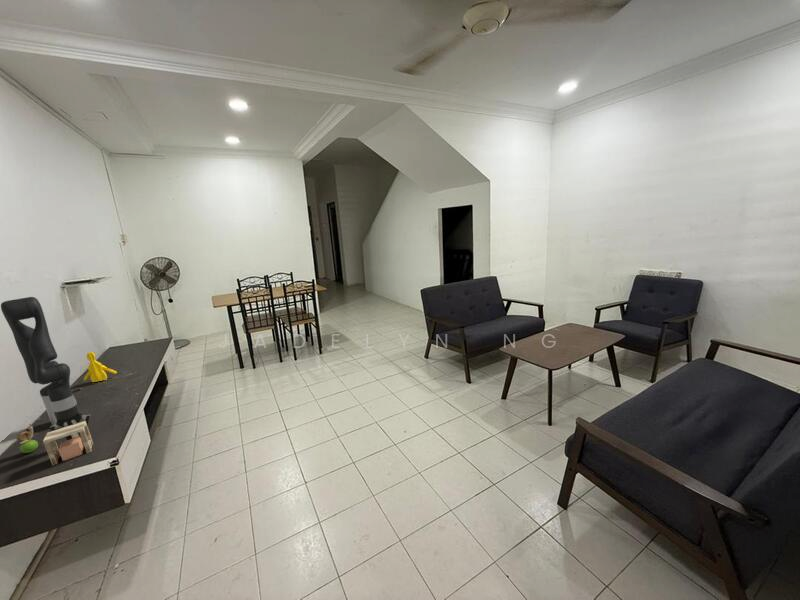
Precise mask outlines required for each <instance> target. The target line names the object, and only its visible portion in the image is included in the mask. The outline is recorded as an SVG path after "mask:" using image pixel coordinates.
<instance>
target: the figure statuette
mask: <svg viewBox="0 0 800 600" xmlns="http://www.w3.org/2000/svg"><path fill="white" fill-rule="evenodd" d="M96 357H97V355H96V354H95V353H94V351H88V352H87V353H86V359H87V360H88V361H89V362H90V363H89V365H88V366H87V369H88V372H87V373H86V374H85V375H84V378H83V381H86V380H87V379H89V377H90V381H91V382H92V383H93V382H97V381H102V380H106V381H107V380H108V379H107V378H108V375H107V372H109V373H111V374H114V375H116V374H117V373H118V371H116V370H114V369H112V368H108V367H107V366H105V365H103V364H102V363H101V362H99V361H98V360H96Z"/></svg>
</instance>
